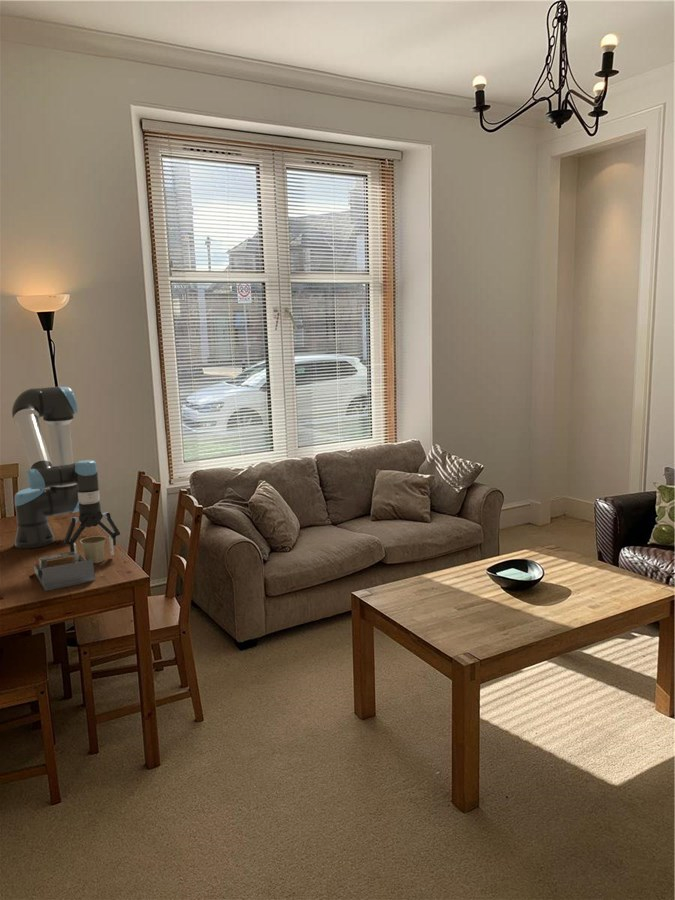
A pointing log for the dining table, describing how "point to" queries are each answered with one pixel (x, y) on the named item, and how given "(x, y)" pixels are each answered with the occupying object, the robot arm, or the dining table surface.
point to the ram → (59, 559)
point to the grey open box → (65, 574)
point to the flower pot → (94, 548)
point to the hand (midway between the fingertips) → (94, 557)
